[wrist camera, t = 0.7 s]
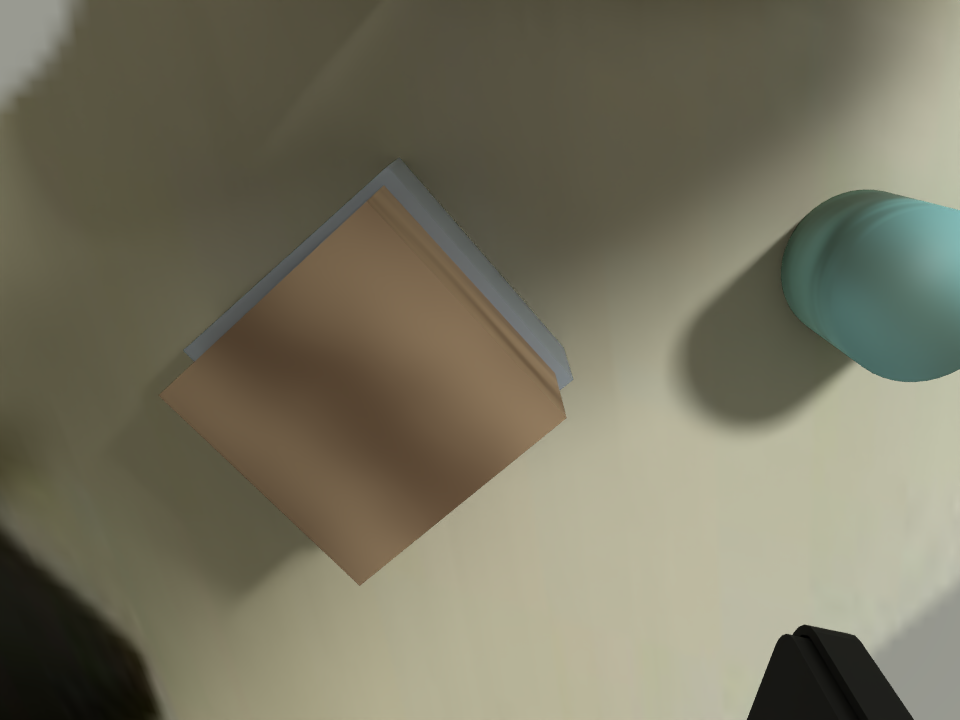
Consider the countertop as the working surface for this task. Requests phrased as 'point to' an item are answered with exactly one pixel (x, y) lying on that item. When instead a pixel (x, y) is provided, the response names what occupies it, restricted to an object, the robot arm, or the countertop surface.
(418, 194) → the slate base block
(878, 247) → the teal cylinder
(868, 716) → the robot arm
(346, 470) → the walnut block
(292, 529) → the countertop surface
